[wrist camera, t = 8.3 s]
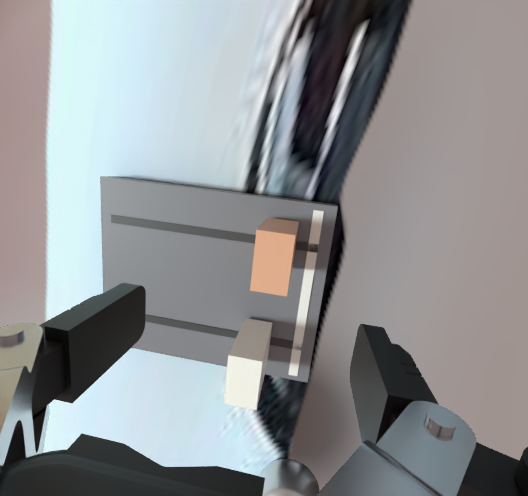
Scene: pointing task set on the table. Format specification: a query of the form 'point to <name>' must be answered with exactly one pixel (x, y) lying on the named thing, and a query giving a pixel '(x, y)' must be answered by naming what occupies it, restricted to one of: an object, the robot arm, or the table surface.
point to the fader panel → (213, 268)
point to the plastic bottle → (288, 479)
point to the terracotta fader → (274, 256)
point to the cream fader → (247, 364)
